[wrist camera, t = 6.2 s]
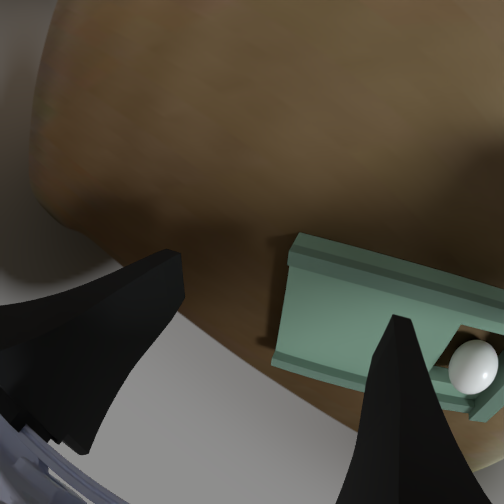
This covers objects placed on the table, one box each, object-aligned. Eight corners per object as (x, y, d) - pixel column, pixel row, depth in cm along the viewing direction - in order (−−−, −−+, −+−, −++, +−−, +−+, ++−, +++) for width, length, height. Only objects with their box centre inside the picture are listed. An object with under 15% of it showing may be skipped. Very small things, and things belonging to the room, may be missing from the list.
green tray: (553, 305, 14) (565, 334, 12) (484, 395, 21) (486, 422, 18) (299, 232, 20) (285, 257, 18) (280, 345, 26) (267, 371, 24)
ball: (448, 400, 16) (439, 345, 19) (456, 401, 19) (448, 355, 21) (502, 381, 14) (490, 325, 16) (502, 385, 16) (492, 338, 19)
